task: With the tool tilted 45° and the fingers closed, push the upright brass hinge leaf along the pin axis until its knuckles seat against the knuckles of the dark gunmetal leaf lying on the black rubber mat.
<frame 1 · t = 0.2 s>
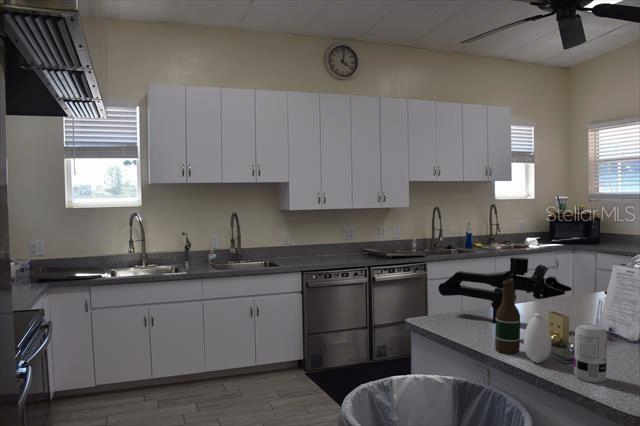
hand: (568, 291, 194), 16 cm above the counter, tool horizontal, fingers open, 9 cm apart
sauce bottle: (536, 362, 161), on the counter
gunmetal leaf: (570, 353, 170), resting on rubber mat
supplement can: (589, 378, 147), on the counter
rubber mat: (558, 350, 173), on the counter
beer bottle: (507, 352, 172), on the counter
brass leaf: (554, 328, 180), point 6 cm above the counter, slide at 6.0 cm
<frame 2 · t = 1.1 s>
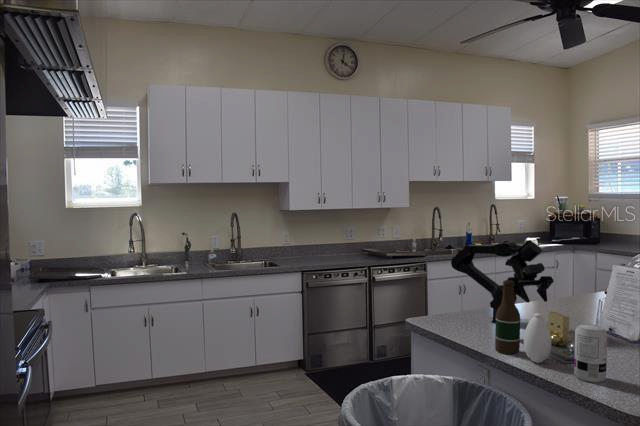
hand: (537, 301, 192), 13 cm above the counter, tool tilted 45°, fingers open, 7 cm apart
nothing on the counter moved.
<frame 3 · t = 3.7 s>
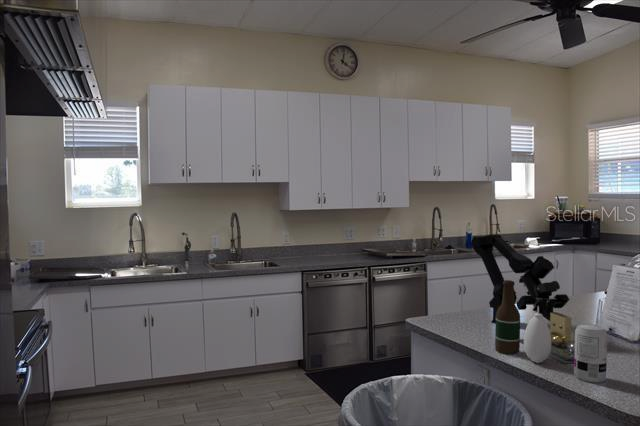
hand: (552, 321, 183), 7 cm above the counter, tool tilted 45°, fingers closed, pressing on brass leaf
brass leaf: (556, 329, 179), point 6 cm above the counter, slide at 4.9 cm, touching gripper
everything else where it was.
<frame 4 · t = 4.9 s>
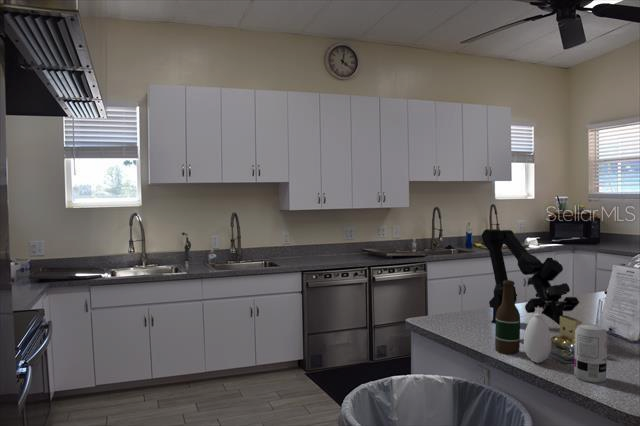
hand: (562, 325, 178), 7 cm above the counter, tool tilted 45°, fingers closed, pressing on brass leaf
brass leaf: (566, 333, 174), point 6 cm above the counter, slide at -0.3 cm, touching gripper
everything else where it was.
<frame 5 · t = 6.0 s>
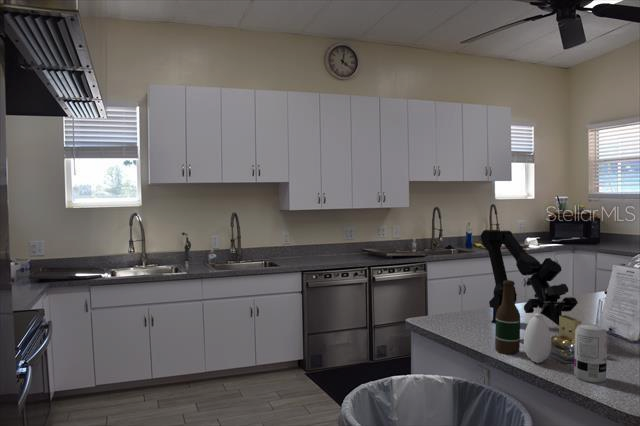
hand: (561, 325, 179), 7 cm above the counter, tool tilted 45°, fingers closed
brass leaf: (565, 333, 174), point 6 cm above the counter, slide at 0.0 cm
everything else where it was.
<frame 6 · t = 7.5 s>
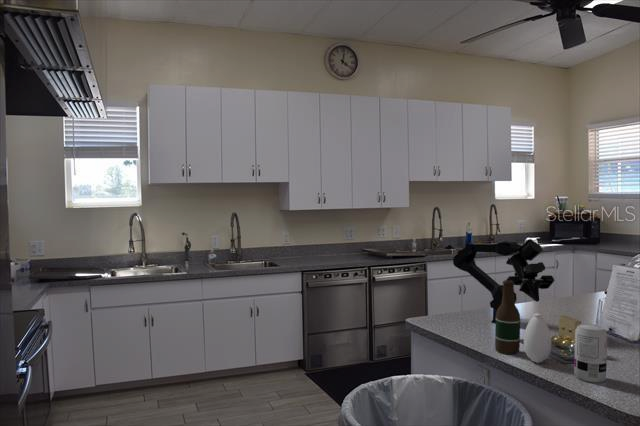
hand: (537, 301, 191), 13 cm above the counter, tool tilted 45°, fingers closed
nothing on the counter moved.
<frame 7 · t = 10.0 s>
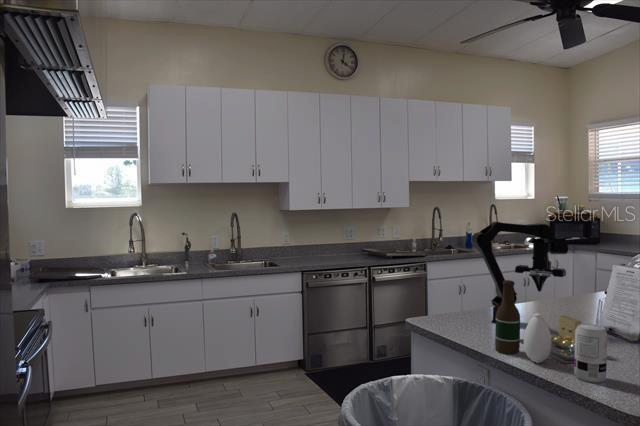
hand: (539, 291, 211), 13 cm above the counter, tool pointing down, fingers closed
nothing on the counter moved.
at the end: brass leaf slide at 0.0 cm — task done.
